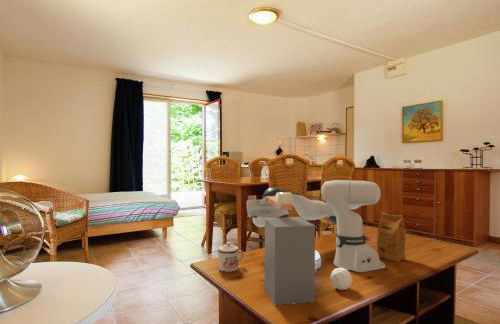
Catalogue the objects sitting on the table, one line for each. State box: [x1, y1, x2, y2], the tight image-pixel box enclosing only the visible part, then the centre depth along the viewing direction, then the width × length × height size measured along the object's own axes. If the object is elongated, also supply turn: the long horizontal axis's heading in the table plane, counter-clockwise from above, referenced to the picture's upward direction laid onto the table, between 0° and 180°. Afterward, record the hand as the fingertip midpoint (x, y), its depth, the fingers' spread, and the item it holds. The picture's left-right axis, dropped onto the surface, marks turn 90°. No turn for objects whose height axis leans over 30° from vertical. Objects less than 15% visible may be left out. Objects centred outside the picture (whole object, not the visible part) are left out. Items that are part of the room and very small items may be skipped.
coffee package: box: [376, 212, 407, 263], centre depth 142 cm, size 10×12×22 cm
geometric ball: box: [329, 267, 353, 291], centre depth 108 cm, size 8×8×8 cm
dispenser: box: [264, 216, 316, 306], centre depth 104 cm, size 14×15×26 cm
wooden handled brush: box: [266, 191, 294, 211], centre depth 117 cm, size 5×24×6 cm, turn 11°
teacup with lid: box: [217, 241, 245, 273], centre depth 129 cm, size 12×9×12 cm
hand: (272, 198), depth 125 cm, fingers closed on wooden handled brush, 4 cm apart
